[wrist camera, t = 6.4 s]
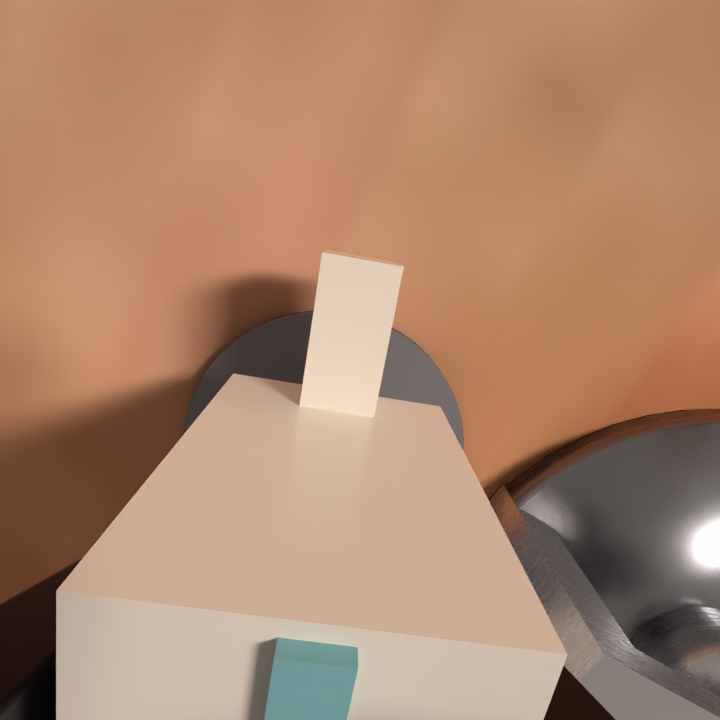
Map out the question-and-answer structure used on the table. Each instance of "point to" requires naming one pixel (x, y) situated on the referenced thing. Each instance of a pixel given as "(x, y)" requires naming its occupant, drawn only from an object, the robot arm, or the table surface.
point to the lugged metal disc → (630, 560)
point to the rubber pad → (288, 359)
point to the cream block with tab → (309, 557)
